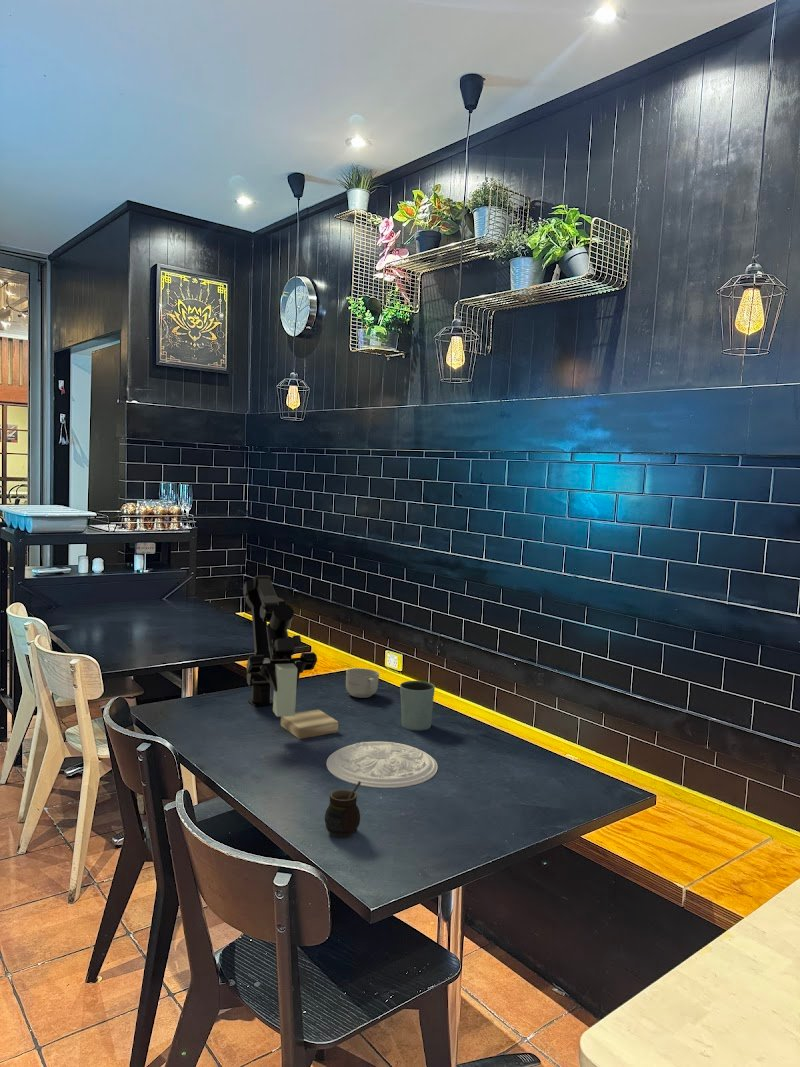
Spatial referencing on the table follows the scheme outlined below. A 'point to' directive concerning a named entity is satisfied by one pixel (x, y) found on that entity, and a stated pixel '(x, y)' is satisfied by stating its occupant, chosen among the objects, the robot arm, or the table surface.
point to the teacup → (361, 682)
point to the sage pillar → (285, 690)
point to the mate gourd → (342, 813)
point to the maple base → (309, 724)
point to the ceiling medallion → (382, 765)
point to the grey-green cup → (416, 704)
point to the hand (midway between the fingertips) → (286, 690)
